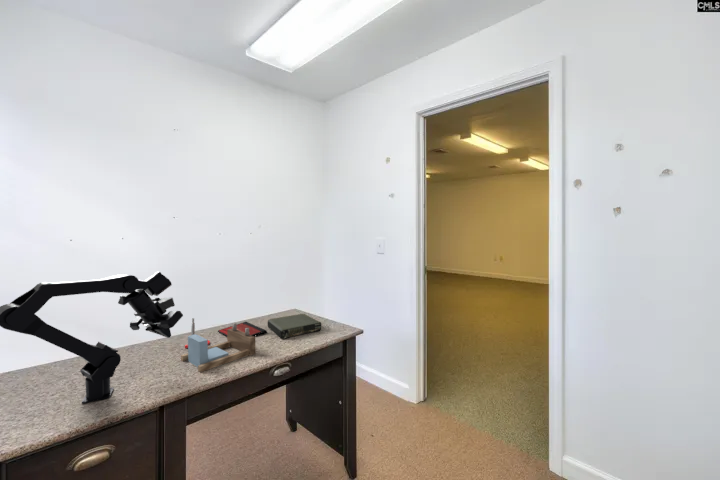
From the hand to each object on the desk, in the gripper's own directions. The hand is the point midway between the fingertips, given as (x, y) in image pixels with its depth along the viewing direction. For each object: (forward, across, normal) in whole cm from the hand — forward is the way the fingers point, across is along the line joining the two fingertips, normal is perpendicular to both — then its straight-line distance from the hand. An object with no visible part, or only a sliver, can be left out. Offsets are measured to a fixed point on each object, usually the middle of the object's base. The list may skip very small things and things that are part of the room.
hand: (169, 336), depth 111 cm
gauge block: (+17, -6, -2) cm, 18 cm away
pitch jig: (+19, -7, -6) cm, 21 cm away
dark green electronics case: (+40, -18, -38) cm, 58 cm away
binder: (+32, +4, -29) cm, 43 cm away
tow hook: (+21, +11, -13) cm, 27 cm away
